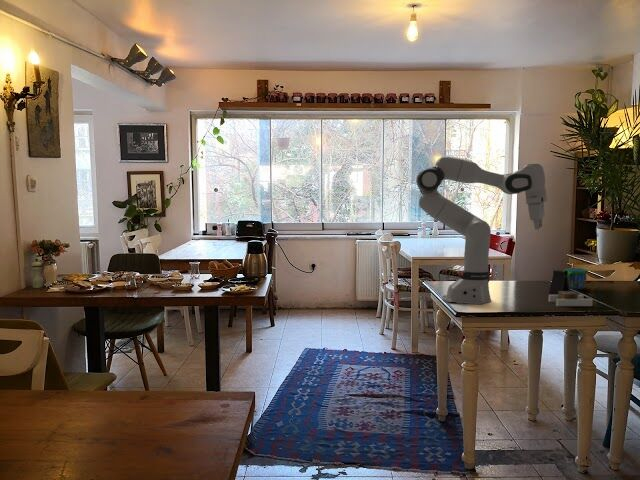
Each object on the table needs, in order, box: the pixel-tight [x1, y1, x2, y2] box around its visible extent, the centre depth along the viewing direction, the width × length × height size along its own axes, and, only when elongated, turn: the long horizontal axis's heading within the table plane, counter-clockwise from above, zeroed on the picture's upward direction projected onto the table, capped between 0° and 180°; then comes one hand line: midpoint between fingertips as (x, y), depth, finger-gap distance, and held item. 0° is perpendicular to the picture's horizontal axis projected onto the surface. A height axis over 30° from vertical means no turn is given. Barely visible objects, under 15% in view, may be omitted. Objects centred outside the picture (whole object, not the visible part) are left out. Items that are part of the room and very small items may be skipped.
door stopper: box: [548, 268, 571, 295], centre depth 256 cm, size 9×6×12 cm, turn 122°
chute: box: [548, 294, 594, 307], centre depth 229 cm, size 15×10×4 cm, turn 87°
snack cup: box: [564, 267, 588, 290], centre depth 267 cm, size 16×10×10 cm
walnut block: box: [557, 290, 579, 299], centre depth 229 cm, size 6×6×5 cm
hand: (538, 228), depth 236 cm, fingers open, 8 cm apart
